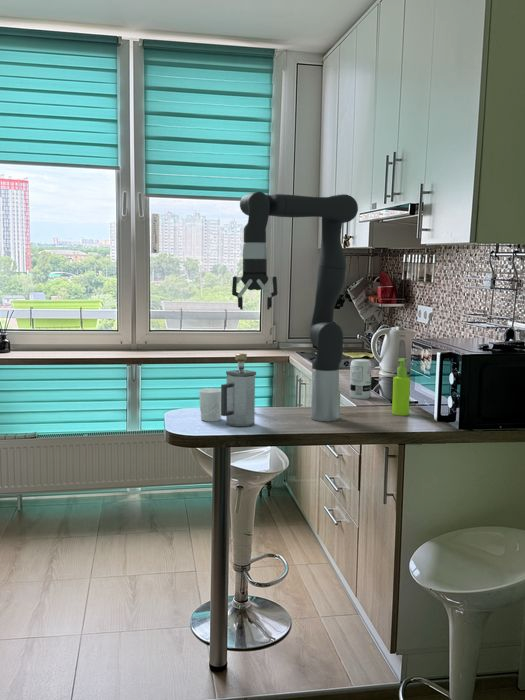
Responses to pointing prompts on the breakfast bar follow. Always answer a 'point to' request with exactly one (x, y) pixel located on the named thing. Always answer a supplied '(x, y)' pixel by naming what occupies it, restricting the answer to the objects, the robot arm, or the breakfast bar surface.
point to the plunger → (241, 361)
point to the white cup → (210, 404)
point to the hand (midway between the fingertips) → (254, 309)
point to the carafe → (239, 399)
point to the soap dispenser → (401, 390)
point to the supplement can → (360, 379)
